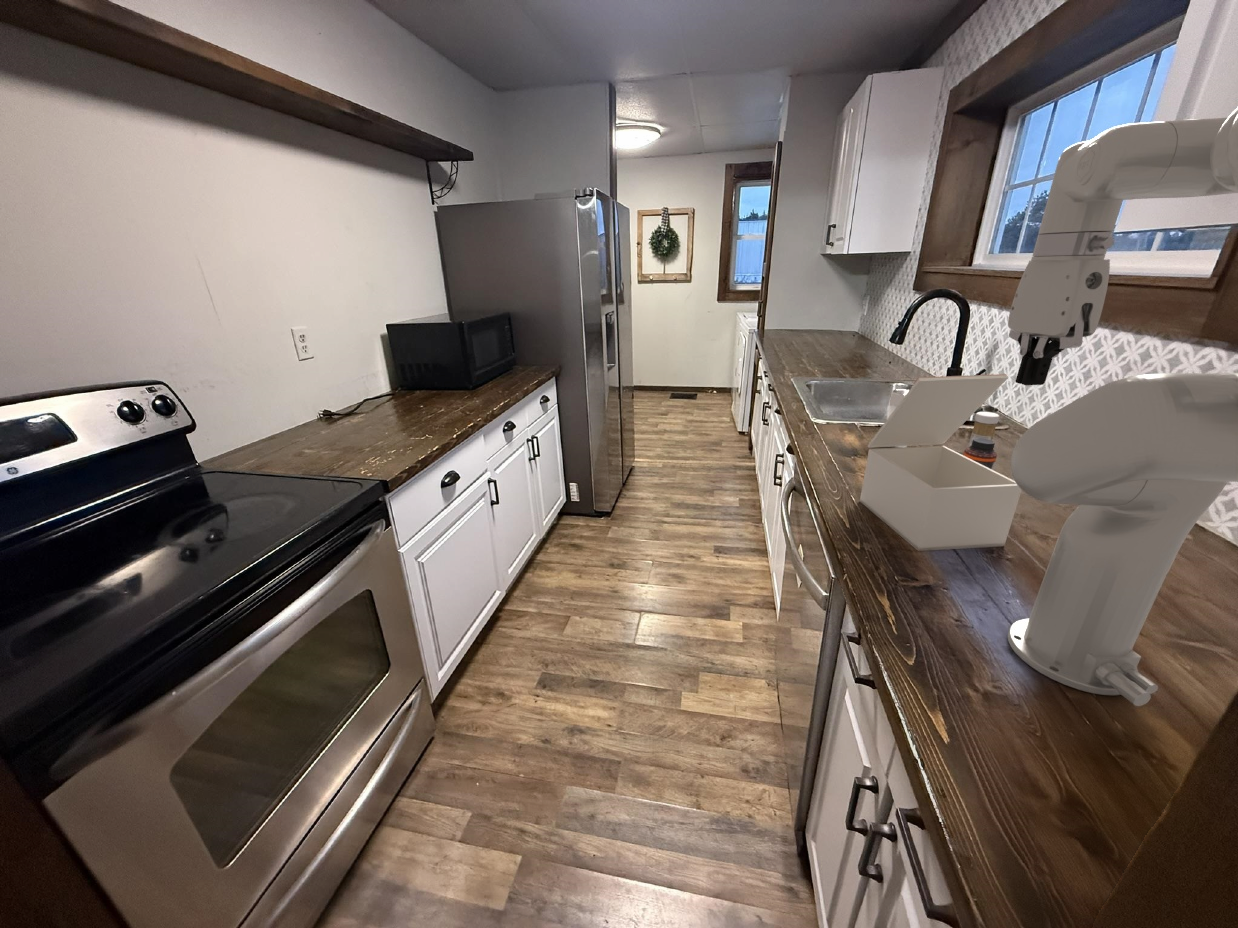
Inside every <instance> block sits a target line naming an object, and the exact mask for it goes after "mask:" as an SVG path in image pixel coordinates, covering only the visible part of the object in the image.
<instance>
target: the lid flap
mask: <svg viewBox="0 0 1238 928" xmlns="http://www.w3.org/2000/svg"><path fill="white" fill-rule="evenodd" d="M1008 379H1009V376H1008V375H1007V373H1002V374H1001V373H999V374H980V375H978V374H977V375H975V374H973V375H972V374H971V375H951V376H949V375H948V376H947V375H945V376H925V377H921V376H919V377H917V378H916V380H915V381H914V382H913V385H912V386H911V388H910V389H908V390H909V392H908V393H907V394H906V396H905V397H904V398H903V399H902V401H901V402H900V403H899V405H898V406H897V407H896V409H895V410H894V411H893V413H892V414H891V415H890V416H889V418H888V417H887V419H886V420H885V422H884V423H883V424H882V426H881V427H880V428H879V429H878V430H877V432H876V433H875V435H874V436H873V437H872V438H871V440H870V441H869V443H868V444H867V448H869V449H872V448H893V446H907V447H917V446H939V445H944V444H945V443H946V442H947V441H948V440H949V439H950V438H951V437H952V435H954V434H955V433H956V432H957V431H958V430H959V428H961V427H962V426H963V424H964V423H965V422H966V421H968V419H970V417H971V416H972V415H973V414H975V412H976V411H977V410H978V409H979V408H980V407H981V406H982V405H984V403H986V401H987V400H988V399H989V398H990V397H991V396H992V395H993V394H994V393H995V392H997V390H998V389H999V388H1000V387H1001V386H1002V385H1003V384H1004V383H1005V382H1006V381H1007V380H1008Z"/></svg>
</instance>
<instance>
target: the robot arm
mask: <svg viewBox="0 0 1238 928" xmlns="http://www.w3.org/2000/svg"><path fill="white" fill-rule="evenodd" d="M1228 194H1229V195H1231V194H1238V107H1237V108H1236V109H1234V110H1233V111H1232V112H1231V114H1230V115H1229V116H1228V117H1220V118H1219V117H1218V118H1196V119H1193V118H1192V119H1180V120H1166V121H1165V120H1163V121H1151V122H1149V121H1148V122H1135V123H1133V122H1132V123H1126V124H1122V125H1117V126H1113V127H1111V128H1109V129H1106V130H1104V131H1103V132H1101V133H1099V134H1098V135H1097V136H1094V138H1092V139H1090V140H1083V141H1081V142H1077V143H1074V144H1071V145H1070V146H1069V147H1067V148H1065V149H1064V151H1062V153H1061V154H1060V155H1059V158H1058V161H1057V163H1056V167H1055V172H1054V175H1053V178H1052V181H1051V186H1050V188H1049V192H1048V197H1047V200H1046V204H1045V208H1044V212H1043V215H1042V218H1041V223H1040V226H1039V230H1038V233H1037V234H1038V235H1037V238H1036V242H1035V245H1034V248H1033V253H1032V255H1031V260H1029V261H1028V262H1027V264H1026V267H1025V270H1024V271H1023V274H1022V276H1021V278H1020V280H1019V283H1018V286H1017V289H1016V291H1015V294H1014V298H1013V299H1012V304H1011V306H1010V310H1009V315H1008V320H1007V326H1008V328H1009V329H1010V330H1009V333H1008V337H1009V338H1011V339H1012V340H1014V341H1016V342H1018V345H1019V354H1020V355H1021V361H1020V364H1019V367H1018V371H1017V375H1016V378H1015V383H1016V384H1022V385H1023V386H1042V385H1044V384H1046V380H1047V378H1048V374H1049V372H1050V368H1051V364H1052V361H1053V359H1055V358H1057V357H1058V356H1059V355H1060V353H1061V352H1062V351H1064V350H1067V349H1075V348H1076V349H1078V348H1080V347H1081V346H1082V345H1083V338H1085V337H1090V336H1092V335H1093V334H1095V332H1096V331H1097V327H1098V324H1099V322H1100V319H1101V315H1102V311H1103V308H1104V304H1105V301H1106V300H1105V299H1106V296H1107V295H1106V294H1107V290H1108V286H1109V285H1108V284H1109V278H1110V269H1111V267H1110V265H1111V263H1110V261H1111V259H1108V258H1106V254H1107V252H1108V249H1111V248H1112V247H1113V245H1114V244H1115V238H1114V237H1112V235H1113V232H1114V229H1115V226H1116V223H1117V221H1118V218H1119V214H1120V211H1121V208H1122V204H1123V201H1125V200H1127V201H1128V200H1129V201H1130V200H1132V201H1133V200H1142V199H1178V198H1180V199H1181V198H1182V199H1183V198H1195V197H1207V196H1219V195H1228ZM1010 456H1011V457H1010V473H1011V476H1012V478H1013V479H1012V480H1014V481H1015V482H1016V484H1017V485H1018V486H1019V488H1020V489H1021V490H1022V491H1023V493H1025V494H1026V495H1027V496H1029V497H1031V498H1032V499H1035V500H1037V501H1039V502H1044V503H1048V504H1056V505H1073V506H1075V505H1076V506H1077V507H1076V508H1075V509H1074V510H1073V511H1072V512H1071V513H1070V515H1069V516H1068V517H1067V519H1066V520H1065V522H1064V523H1063V526H1062V528H1061V530H1060V532H1059V535H1058V537H1057V540H1056V542H1055V546H1054V549H1053V551H1052V554H1051V556H1050V559H1049V561H1048V565H1047V568H1046V570H1045V573H1044V576H1043V580H1042V582H1041V584H1040V587H1039V590H1038V592H1037V596H1036V598H1035V601H1034V604H1033V607H1032V610H1031V612H1030V615H1029V618H1022V619H1019V620H1016V621H1014V622H1013V623H1012V624H1011V625H1010V626H1009V629H1008V633H1007V641H1008V643H1009V646H1010V647H1011V649H1012V650H1013V652H1014V653H1015V654H1016V655H1017V656H1018V657H1019V658H1020V659H1021V661H1023V662H1025V663H1026V664H1027V665H1029V666H1030V667H1031V668H1032V669H1034V670H1035V671H1036V672H1038V673H1040V674H1042V675H1044V676H1046V677H1048V678H1049V679H1050V680H1053V681H1055V682H1058V683H1060V684H1062V685H1064V686H1067V687H1070V688H1072V689H1075V690H1078V691H1083V692H1086V693H1090V694H1095V695H1103V696H1120V695H1121V696H1122V697H1123V698H1125V699H1126V700H1128V701H1129V702H1130V703H1131V704H1133V705H1134V706H1136V707H1142V706H1143V705H1144V706H1145V705H1146V704H1147V703H1148V702H1149V701H1151V697H1152V695H1151V694H1154V693H1155V692H1156V691H1158V688H1159V686H1158V685H1157V684H1156V683H1155V682H1153V681H1152V680H1150V679H1149V678H1147V677H1146V676H1144V675H1143V674H1141V673H1140V672H1139V669H1138V666H1139V665H1138V664H1139V662H1140V660H1141V659H1142V656H1141V655H1140V654H1138V653H1137V652H1136V651H1134V650H1133V649H1134V646H1135V643H1136V641H1137V640H1138V637H1139V636H1140V632H1141V631H1142V628H1143V626H1144V624H1145V622H1146V620H1147V617H1148V615H1149V613H1150V612H1151V609H1152V607H1153V605H1154V604H1155V603H1154V602H1155V601H1156V599H1157V596H1158V595H1159V591H1160V589H1161V588H1162V585H1163V583H1164V582H1165V580H1166V577H1167V574H1168V573H1169V571H1170V570H1171V567H1172V565H1173V563H1174V561H1175V560H1176V557H1177V555H1178V553H1179V551H1180V549H1181V547H1182V545H1183V544H1184V542H1185V540H1186V538H1187V537H1188V535H1189V534H1190V532H1191V530H1192V529H1193V527H1194V526H1195V524H1196V523H1198V521H1199V519H1200V518H1201V517H1202V516H1203V515H1204V514H1205V512H1206V511H1207V510H1208V509H1209V508H1210V507H1211V506H1212V505H1213V503H1214V502H1215V501H1216V500H1217V498H1218V497H1219V496H1220V495H1221V493H1222V491H1223V490H1224V489H1225V487H1226V485H1227V484H1228V482H1231V483H1232V482H1235V483H1236V482H1238V372H1222V373H1217V372H1216V373H1215V372H1213V373H1210V372H1209V373H1205V372H1204V373H1202V372H1201V373H1200V372H1199V373H1194V372H1192V373H1191V372H1190V373H1188V372H1185V373H1184V372H1182V373H1181V372H1180V373H1177V372H1176V373H1174V372H1172V373H1171V372H1169V373H1167V372H1166V373H1164V372H1163V373H1147V374H1139V375H1133V376H1128V377H1124V378H1120V379H1118V380H1114V381H1111V382H1108V383H1106V384H1103V385H1101V386H1100V387H1097V388H1096V389H1094V390H1092V391H1090V392H1088V393H1086V394H1084V395H1083V396H1081V397H1079V398H1077V399H1076V400H1074V401H1072V402H1070V403H1068V404H1066V405H1065V406H1063V407H1061V408H1059V409H1057V410H1056V411H1054V412H1052V413H1050V414H1049V415H1047V416H1044V417H1043V418H1042V419H1040V420H1038V421H1036V422H1035V423H1034V424H1033V425H1031V426H1030V427H1029V428H1028V429H1027V430H1026V431H1024V432H1023V434H1022V435H1021V436H1020V437H1019V439H1018V440H1017V442H1016V444H1015V446H1014V448H1013V449H1012V453H1011V455H1010ZM1022 491H1021V492H1022Z"/></svg>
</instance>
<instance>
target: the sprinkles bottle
mask: <svg viewBox="0 0 1238 928" xmlns="http://www.w3.org/2000/svg"><path fill="white" fill-rule="evenodd" d="M999 419H1000V415H999V414H998V413H996V412H991V411H978V412H976V414H975V417H974V425H973V429H972V432H971V436H970V438H969V439H970V440H969V442H968V446H967V447H970V446H971V445H972V441H973V439H974V438H986V439H990V440H993V438H994V434H995V431H996V426H997V425H998V423H999Z"/></svg>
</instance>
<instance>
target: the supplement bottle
mask: <svg viewBox="0 0 1238 928" xmlns="http://www.w3.org/2000/svg"><path fill="white" fill-rule="evenodd" d="M995 444H996V441H994V440H993V439H992V440H990V439H986V438H974V439H973V441H972V445H971V446H970V447H968V446H967V447H966V448H965V449H964V452H963V454H962V455H963V456H965V457H967V458H969V459H972V460H974V461H976V462H978V463H980V464H982V465H984V466H986V467H988V468H990V469H992V470H994V467H995V464H996V459H997V458H998V455H997V452H996V451H995V450H994V448H995Z"/></svg>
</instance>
